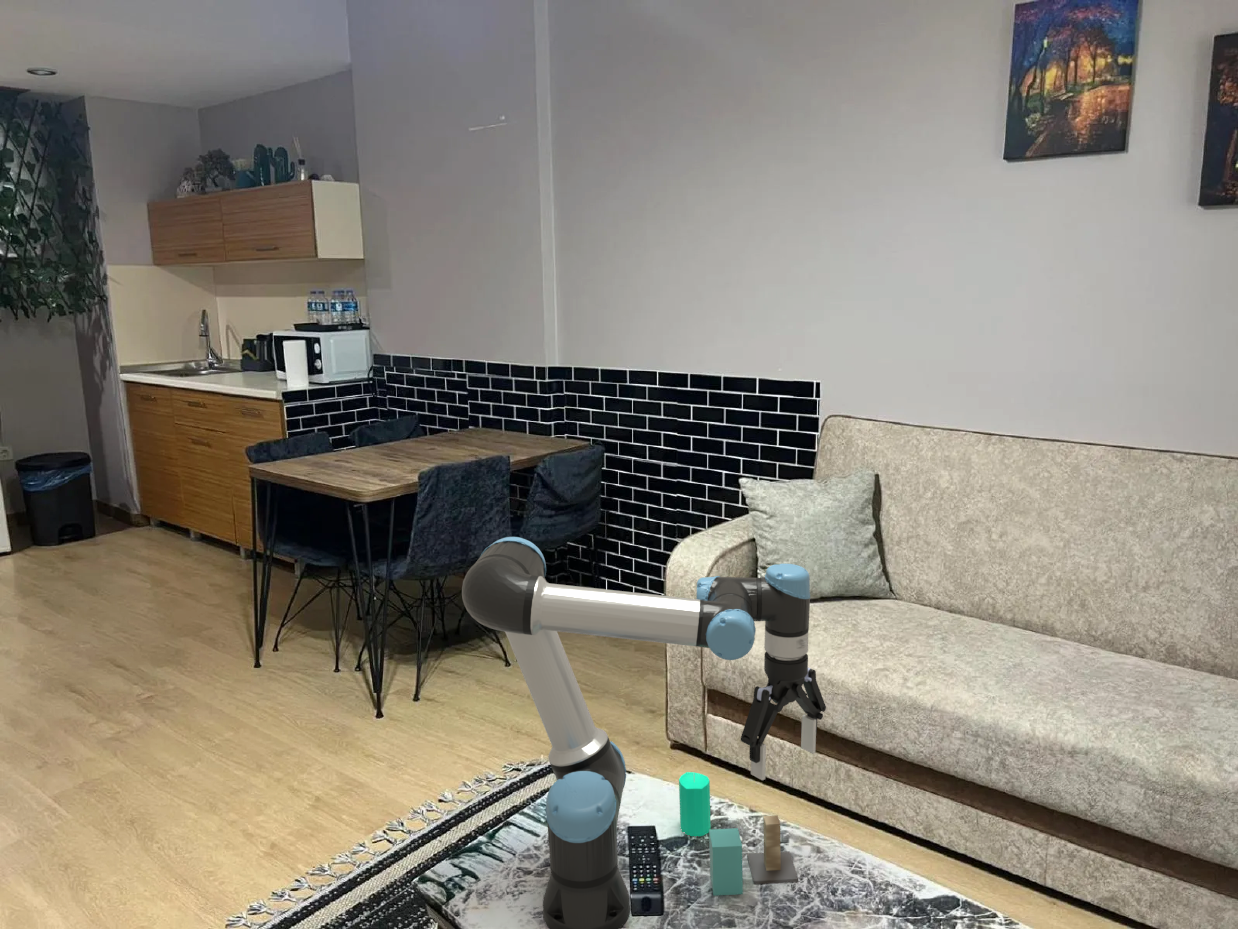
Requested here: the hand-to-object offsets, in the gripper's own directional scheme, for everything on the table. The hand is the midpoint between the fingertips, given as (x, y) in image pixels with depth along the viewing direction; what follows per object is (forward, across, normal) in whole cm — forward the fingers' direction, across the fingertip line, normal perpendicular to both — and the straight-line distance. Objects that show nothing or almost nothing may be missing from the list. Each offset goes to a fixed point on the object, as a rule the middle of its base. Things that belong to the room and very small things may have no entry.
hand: (783, 763), depth 165 cm
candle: (+22, -3, +20) cm, 29 cm away
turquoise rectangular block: (+21, -11, +3) cm, 24 cm away
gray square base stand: (+21, -2, +1) cm, 21 cm away
